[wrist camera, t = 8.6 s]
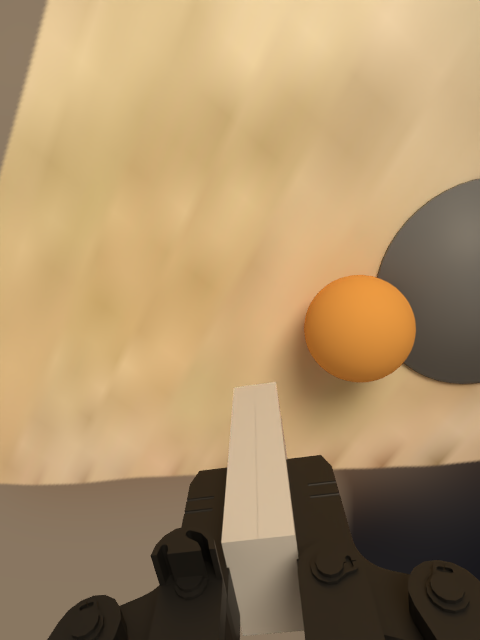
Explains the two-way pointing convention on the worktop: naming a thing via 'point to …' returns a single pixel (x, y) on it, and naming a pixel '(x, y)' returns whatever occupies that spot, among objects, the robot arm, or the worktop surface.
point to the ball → (360, 328)
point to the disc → (441, 283)
